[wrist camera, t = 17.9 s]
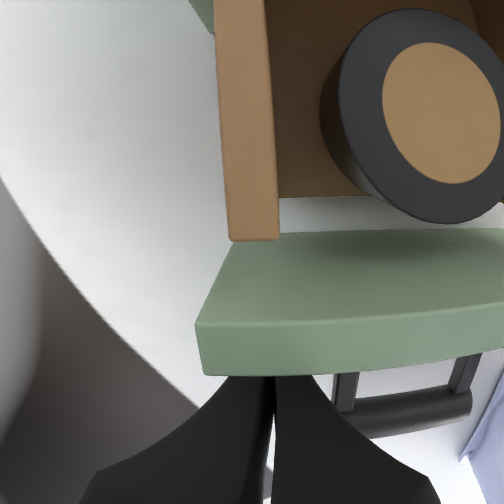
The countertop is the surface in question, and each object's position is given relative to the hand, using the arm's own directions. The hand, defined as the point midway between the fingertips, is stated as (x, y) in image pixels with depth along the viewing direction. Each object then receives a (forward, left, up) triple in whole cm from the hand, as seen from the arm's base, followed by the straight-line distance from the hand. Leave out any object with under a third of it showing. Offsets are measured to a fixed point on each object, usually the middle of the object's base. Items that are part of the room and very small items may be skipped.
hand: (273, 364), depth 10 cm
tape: (+7, -4, -1) cm, 9 cm away
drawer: (+7, -4, -2) cm, 8 cm away
